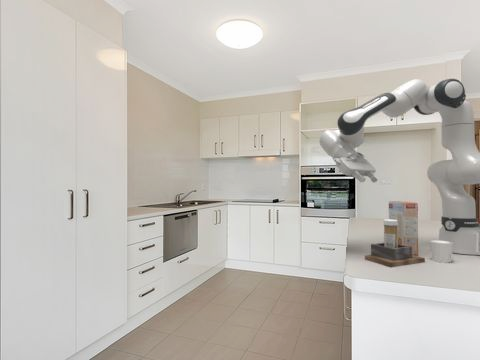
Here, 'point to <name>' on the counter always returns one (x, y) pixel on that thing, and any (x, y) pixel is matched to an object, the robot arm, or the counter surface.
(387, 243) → the sprinkles bottle
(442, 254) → the white cup
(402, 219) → the cracker box
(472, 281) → the counter surface
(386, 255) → the stand
